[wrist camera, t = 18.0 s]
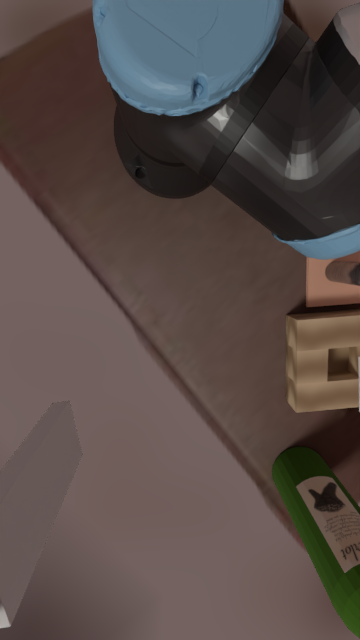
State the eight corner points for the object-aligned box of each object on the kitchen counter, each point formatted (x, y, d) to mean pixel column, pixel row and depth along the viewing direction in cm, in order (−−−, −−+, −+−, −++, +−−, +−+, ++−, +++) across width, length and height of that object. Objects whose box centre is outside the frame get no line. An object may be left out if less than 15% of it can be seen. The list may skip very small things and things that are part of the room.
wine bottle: (314, 438, 50) (573, 756, 18) (328, 480, 52) (584, 836, 20) (264, 456, 50) (432, 800, 19) (279, 498, 52) (455, 875, 21)
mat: (307, 237, 43) (309, 237, 42) (361, 233, 43) (364, 233, 43) (305, 306, 45) (307, 307, 45) (358, 302, 45) (360, 303, 45)
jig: (286, 314, 45) (297, 320, 41) (415, 304, 46) (438, 308, 42) (285, 399, 48) (296, 412, 44) (407, 389, 49) (428, 400, 45)
